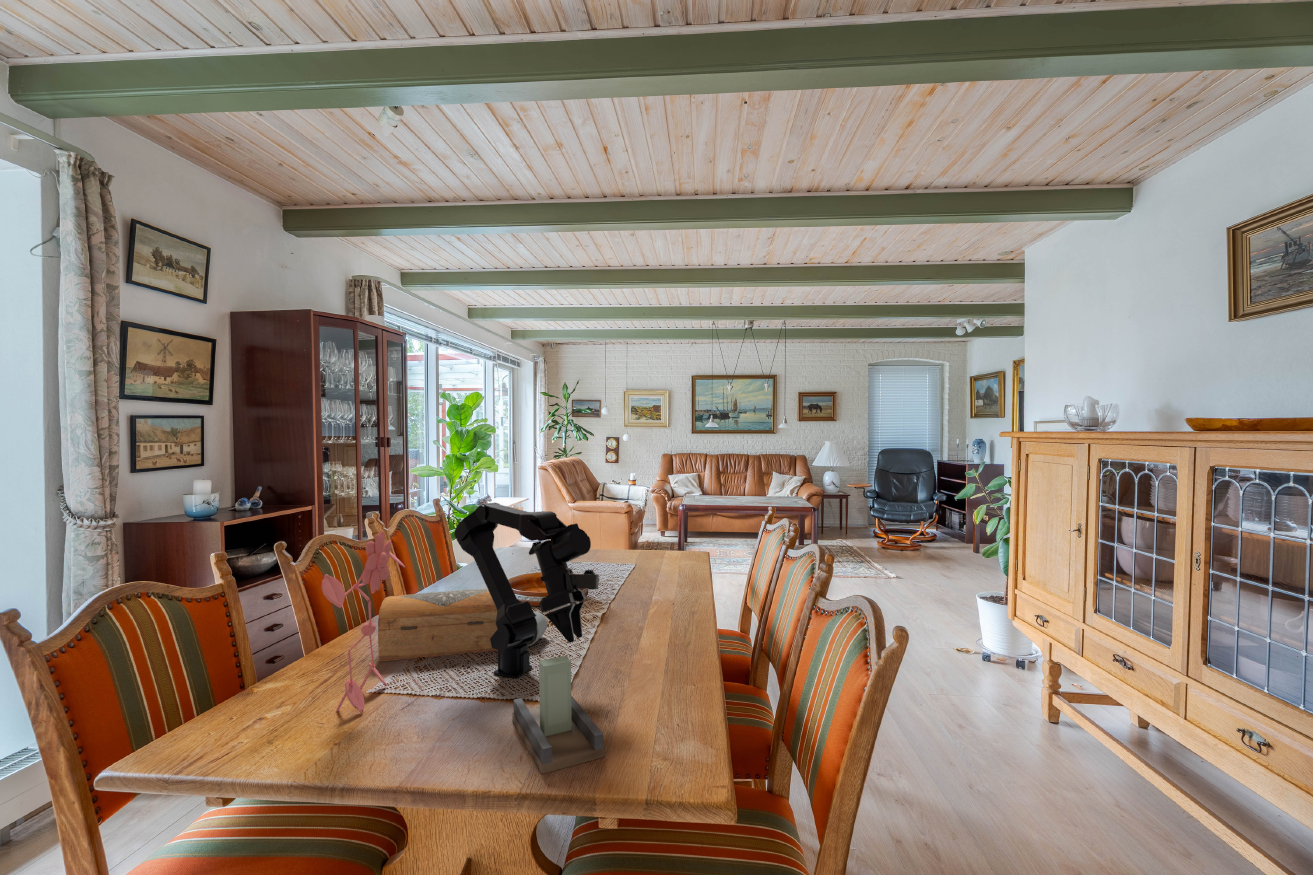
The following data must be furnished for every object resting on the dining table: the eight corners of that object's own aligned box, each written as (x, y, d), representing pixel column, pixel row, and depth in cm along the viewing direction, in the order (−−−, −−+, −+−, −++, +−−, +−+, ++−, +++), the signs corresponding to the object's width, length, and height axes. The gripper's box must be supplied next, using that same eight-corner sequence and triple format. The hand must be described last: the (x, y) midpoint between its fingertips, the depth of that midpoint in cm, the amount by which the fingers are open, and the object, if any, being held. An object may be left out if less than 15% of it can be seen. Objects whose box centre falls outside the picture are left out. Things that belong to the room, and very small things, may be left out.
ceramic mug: (549, 636, 160) (548, 608, 160) (538, 647, 152) (537, 617, 152) (512, 635, 162) (511, 607, 162) (499, 646, 154) (498, 616, 154)
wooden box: (506, 630, 166) (505, 581, 166) (505, 651, 150) (504, 597, 150) (391, 639, 160) (390, 588, 159) (377, 663, 143) (376, 606, 143)
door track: (512, 720, 114) (512, 699, 114) (567, 707, 119) (567, 688, 119) (541, 773, 96) (541, 749, 96) (604, 756, 101) (604, 733, 101)
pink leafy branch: (308, 731, 110) (309, 543, 110) (373, 674, 136) (375, 522, 136) (390, 732, 110) (392, 545, 110) (440, 675, 136) (442, 523, 136)
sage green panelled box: (539, 728, 108) (539, 660, 108) (566, 722, 110) (565, 655, 110) (544, 736, 105) (543, 666, 105) (571, 729, 107) (570, 661, 107)
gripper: (581, 553, 119) (606, 630, 116) (596, 556, 138) (617, 622, 134) (529, 572, 119) (552, 650, 115) (550, 573, 137) (570, 640, 134)
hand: (576, 639), depth 125 cm, fingers open, 9 cm apart
